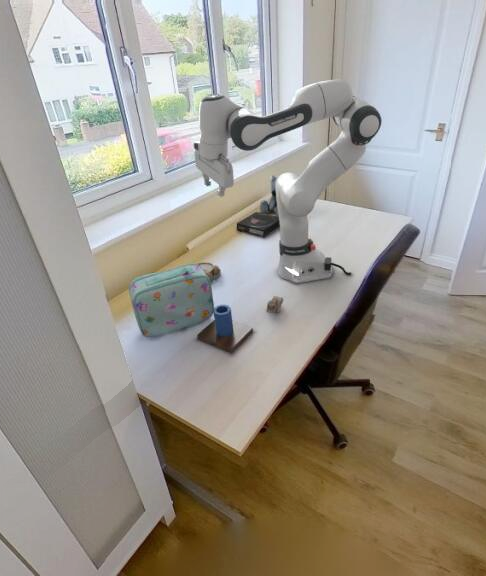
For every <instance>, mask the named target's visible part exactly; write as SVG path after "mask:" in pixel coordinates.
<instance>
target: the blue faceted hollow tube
mask: <svg viewBox="0 0 486 576" xmlns="http://www.w3.org/2000/svg"><path fill="white" fill-rule="evenodd" d="M213 312H214V313H213V317H214V320H215V325H216V332H217V334H218V335H219V336H221V337H227V336H229V335H231V334H232V333H233V322H232V320H233V315H232V308H231V307H230V305H228V304H218V305H215V306H214V311H213Z"/></svg>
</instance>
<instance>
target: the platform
mask: <svg viewBox="0 0 486 576" xmlns="http://www.w3.org/2000/svg"><path fill="white" fill-rule="evenodd" d="M232 322H233V333H232V334H231V335H229V336H227V337H221V336H219V335H218V334H217V332H216V325H215V319H214V320H212V321H211V322H210V323H209V324H207V326H205V327H204V328H203V329H202V330H201V331H200V332H198V333H197V334H196V337H197V340H198V341H200V342H202V343H205V344H207V345H210V346H212V347H214V348H217V349H218V350H221V351H224V352H226V353H228V354H231V355H232V354H233V353H235V352H236V351H237V349H239V347H240V346H241V345H243V343H244V342H245V341H246V340H247V339H249V337H251V336H252V334H253V333H254V328H253V327H252V326H249V325H246V324H245V323H244V324H243V323H241V322H238V321H236V320H233V319H232Z"/></svg>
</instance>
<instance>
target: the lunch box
mask: <svg viewBox="0 0 486 576" xmlns="http://www.w3.org/2000/svg"><path fill="white" fill-rule="evenodd" d="M128 294H129V297H130V301H131V305H132V310H133V314H134V317H135V320H136V323H137V327H138V328H139V331H140V334H141V335H142V336H143V337H145V338H148V339H151V338H158V337H162V336H165V335H167V334H170V333H174V332H178V331H184V330H187V329H189V328H191V327H194V326H197V325H199V324H202V323H204V322H206V321H209V320H210V319H211V318H212V317H213V316H214V312H213V311H214V308H215V302H214V295H213V289H212V281H211V282H210V279H209V277H208V276H207V275H206V274H205V273H204V271H203V269H202V267H201V266H200V265H198V264H197V263H187V264H184V265H180V266H177V267H173V268H170V269H166V270H163V271H159V272H153V273H147V274H143V275H140V276H138V277H136V278H135V279H133V280H132V281H131V282H130V284H129V286H128Z"/></svg>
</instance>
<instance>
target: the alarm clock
mask: <svg viewBox="0 0 486 576" xmlns="http://www.w3.org/2000/svg"><path fill="white" fill-rule="evenodd" d="M196 264H198V265H200V266H201V267H202V269H203V271H204V273H205V274H206V275H207V276H208V277H209V279H210V282H211V283H212V281H213V280H217V279H219V278H220V277H221V275H222V273H221V271H222V270H221V269H220V267H219V266H218V265H214V264H213V263H211V262H206V261H205V262H198V263H197V262H196Z"/></svg>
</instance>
